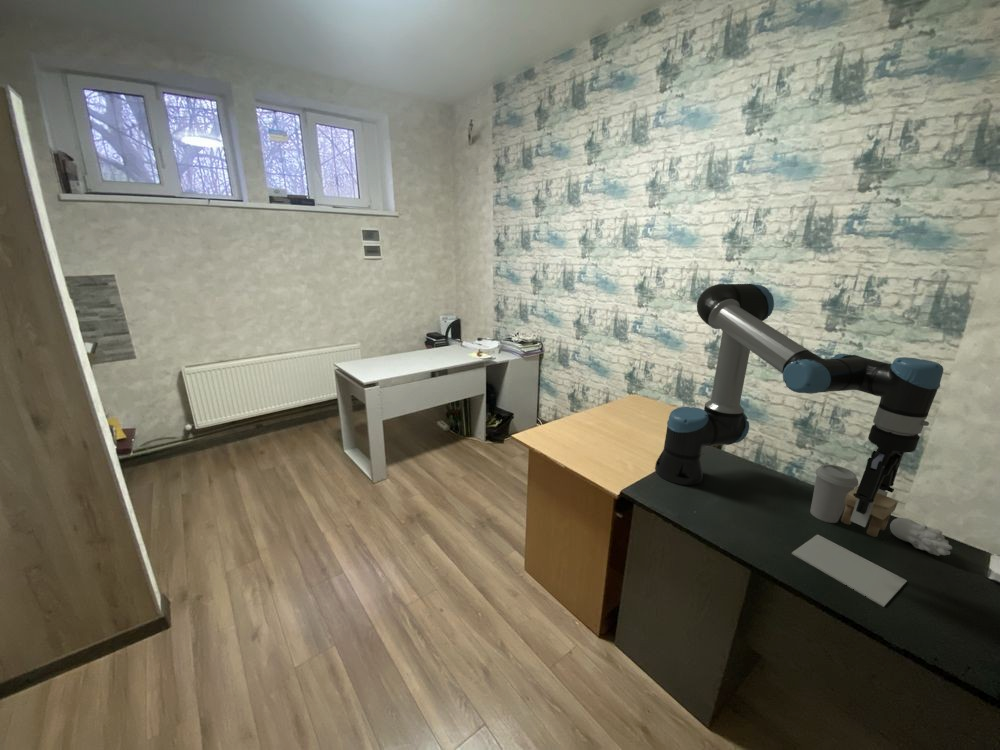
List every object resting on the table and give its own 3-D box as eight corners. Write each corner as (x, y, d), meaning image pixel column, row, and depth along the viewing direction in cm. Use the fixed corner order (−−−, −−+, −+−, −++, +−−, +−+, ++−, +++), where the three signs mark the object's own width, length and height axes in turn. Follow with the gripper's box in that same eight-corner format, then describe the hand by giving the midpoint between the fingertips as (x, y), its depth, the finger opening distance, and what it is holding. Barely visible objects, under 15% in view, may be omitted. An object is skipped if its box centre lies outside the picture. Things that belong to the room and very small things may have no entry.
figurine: (901, 520, 109) (963, 546, 98) (888, 538, 109) (948, 567, 98) (895, 508, 106) (957, 534, 95) (881, 527, 106) (942, 556, 95)
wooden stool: (838, 520, 93) (846, 493, 90) (850, 511, 96) (859, 485, 94) (876, 538, 87) (886, 510, 85) (887, 528, 90) (898, 500, 88)
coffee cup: (853, 529, 109) (869, 482, 105) (814, 523, 111) (829, 478, 106) (832, 508, 118) (846, 464, 114) (797, 503, 120) (810, 460, 115)
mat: (791, 553, 99) (791, 552, 99) (816, 535, 106) (817, 534, 106) (883, 607, 85) (884, 605, 84) (906, 581, 91) (907, 580, 91)
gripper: (902, 446, 76) (868, 542, 83) (935, 426, 86) (901, 514, 93) (855, 431, 82) (826, 522, 89) (890, 414, 92) (861, 497, 99)
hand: (864, 518), depth 91 cm, fingers closed on wooden stool, 7 cm apart
